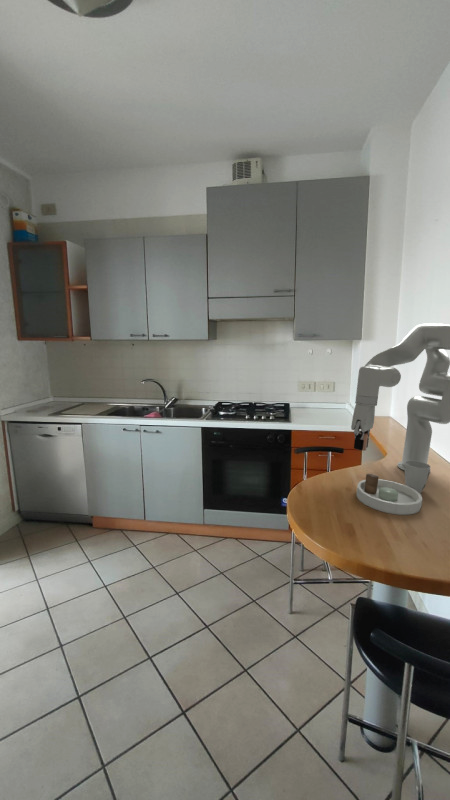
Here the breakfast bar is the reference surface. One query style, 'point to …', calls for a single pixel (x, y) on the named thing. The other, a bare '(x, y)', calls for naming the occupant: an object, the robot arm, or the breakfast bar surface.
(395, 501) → the groove tray
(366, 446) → the pinkish-brown rounded piece
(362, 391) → the robot arm
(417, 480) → the cup
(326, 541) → the breakfast bar surface
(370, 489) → the walnut bead
